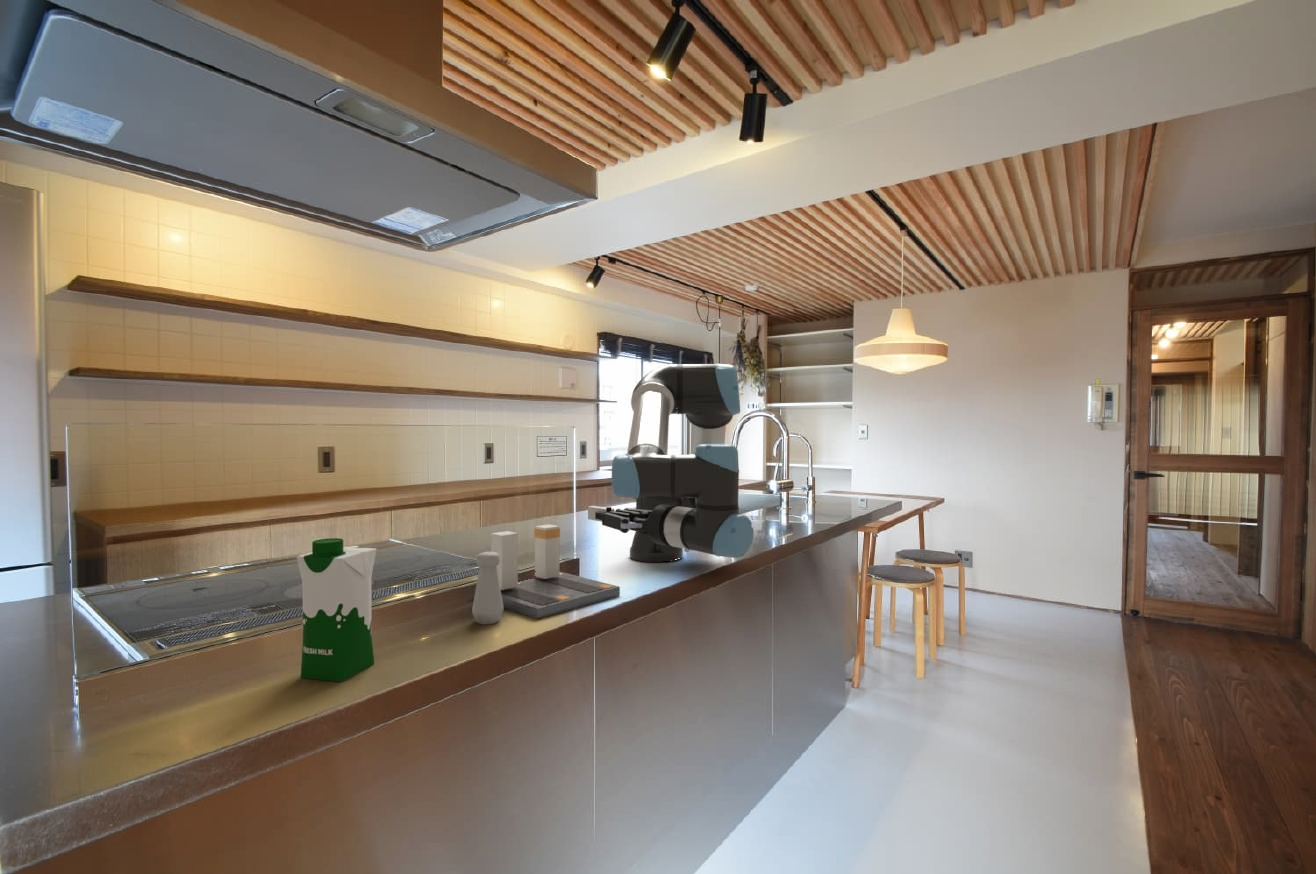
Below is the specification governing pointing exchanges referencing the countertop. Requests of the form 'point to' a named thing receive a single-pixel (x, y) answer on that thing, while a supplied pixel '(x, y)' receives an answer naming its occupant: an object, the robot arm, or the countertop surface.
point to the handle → (547, 551)
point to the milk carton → (336, 610)
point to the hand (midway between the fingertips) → (590, 512)
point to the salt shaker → (487, 590)
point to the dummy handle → (506, 558)
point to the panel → (555, 594)
